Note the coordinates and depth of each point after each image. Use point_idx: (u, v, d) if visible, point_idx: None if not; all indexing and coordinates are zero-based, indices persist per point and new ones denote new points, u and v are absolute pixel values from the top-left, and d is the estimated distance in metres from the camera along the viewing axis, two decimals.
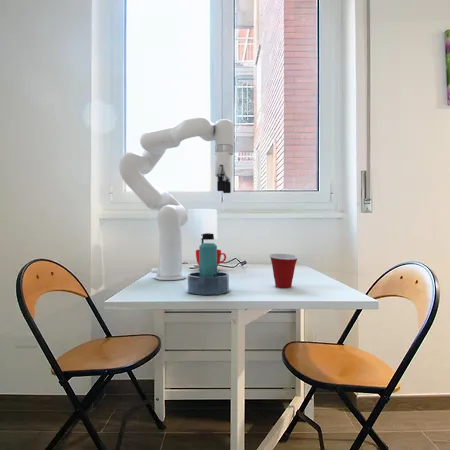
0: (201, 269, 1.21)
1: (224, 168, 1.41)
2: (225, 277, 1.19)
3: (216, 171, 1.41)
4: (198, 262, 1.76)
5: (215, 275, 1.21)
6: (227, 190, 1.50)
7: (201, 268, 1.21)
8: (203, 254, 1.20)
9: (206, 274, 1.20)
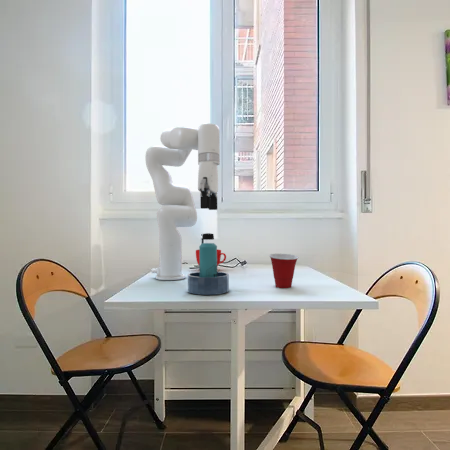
0: (201, 269, 1.21)
1: (208, 181, 1.18)
2: (225, 277, 1.19)
3: (199, 185, 1.18)
4: (198, 262, 1.76)
5: (215, 275, 1.21)
6: (213, 206, 1.27)
7: (201, 268, 1.21)
8: (203, 254, 1.20)
9: (206, 274, 1.20)
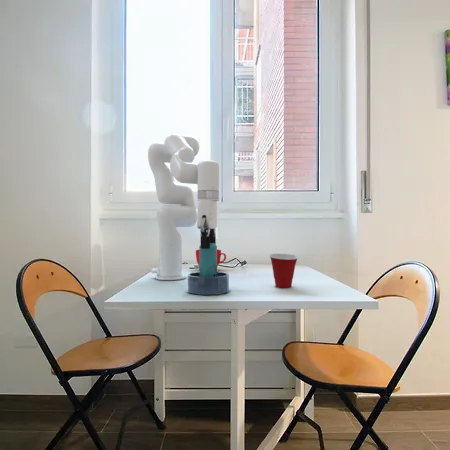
0: (201, 269, 1.21)
1: (207, 219, 1.17)
2: (225, 277, 1.19)
3: (198, 223, 1.18)
4: (198, 262, 1.76)
5: (215, 275, 1.21)
6: None
7: (201, 268, 1.21)
8: (203, 254, 1.20)
9: (206, 274, 1.20)
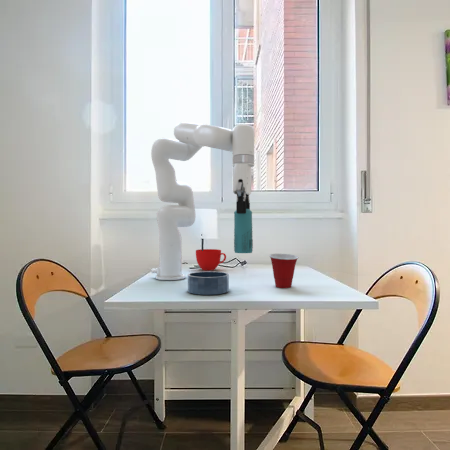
0: (236, 234, 1.19)
1: (244, 183, 1.16)
2: (225, 277, 1.19)
3: (234, 187, 1.17)
4: (198, 262, 1.76)
5: (251, 241, 1.20)
6: None
7: (236, 233, 1.19)
8: (239, 219, 1.19)
9: (242, 239, 1.18)
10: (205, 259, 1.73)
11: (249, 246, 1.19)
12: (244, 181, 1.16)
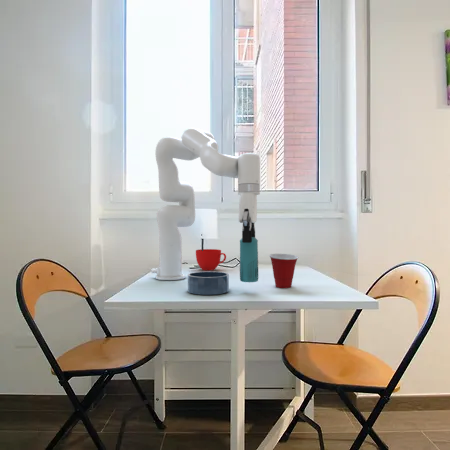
0: (242, 263, 1.19)
1: (250, 213, 1.16)
2: (225, 277, 1.19)
3: (240, 216, 1.17)
4: (198, 262, 1.76)
5: (256, 269, 1.19)
6: None
7: (242, 262, 1.19)
8: (244, 248, 1.19)
9: (248, 268, 1.18)
10: (205, 259, 1.73)
11: (255, 275, 1.19)
12: (250, 211, 1.16)
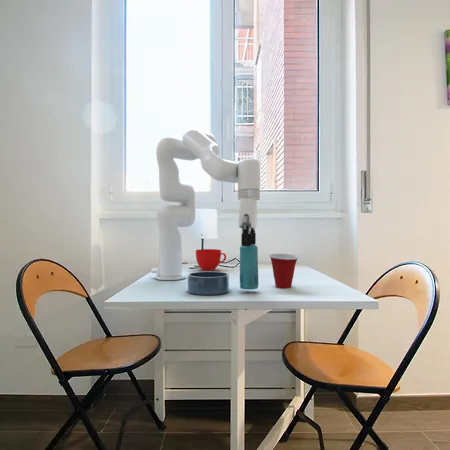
0: (242, 270, 1.19)
1: (250, 218, 1.16)
2: (225, 277, 1.19)
3: (240, 222, 1.17)
4: (198, 262, 1.76)
5: (256, 276, 1.20)
6: (251, 241, 1.25)
7: (242, 269, 1.19)
8: (244, 255, 1.19)
9: (248, 275, 1.18)
10: (205, 259, 1.73)
11: (255, 282, 1.19)
12: (250, 216, 1.16)
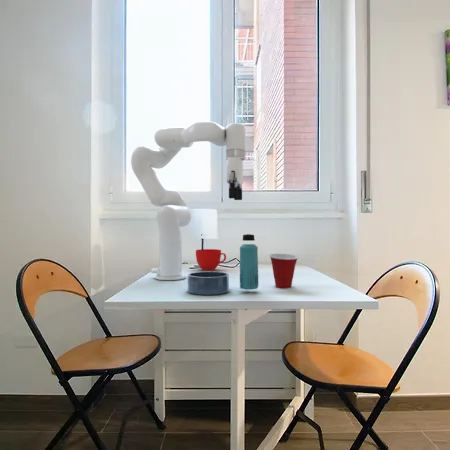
0: (242, 270, 1.19)
1: (236, 174, 1.33)
2: (225, 277, 1.19)
3: (227, 177, 1.34)
4: (198, 262, 1.76)
5: (256, 276, 1.20)
6: (238, 197, 1.43)
7: (242, 269, 1.19)
8: (244, 255, 1.19)
9: (248, 275, 1.18)
10: (205, 259, 1.73)
11: (255, 282, 1.19)
12: (236, 172, 1.33)
